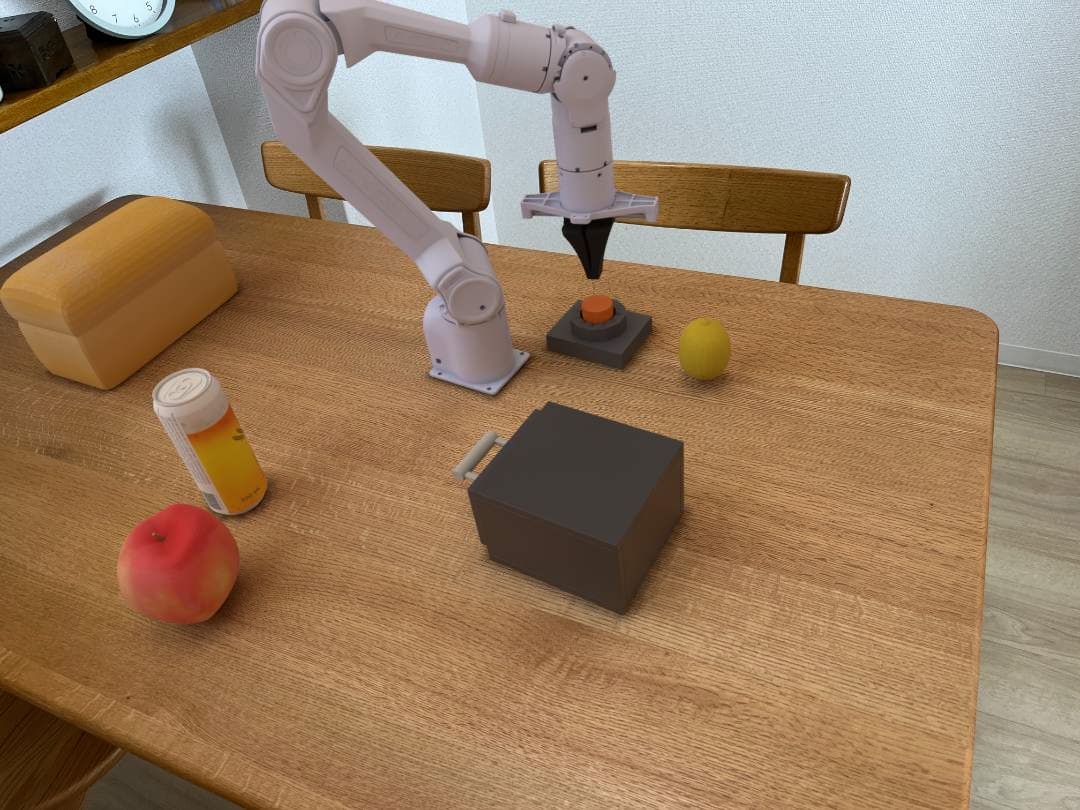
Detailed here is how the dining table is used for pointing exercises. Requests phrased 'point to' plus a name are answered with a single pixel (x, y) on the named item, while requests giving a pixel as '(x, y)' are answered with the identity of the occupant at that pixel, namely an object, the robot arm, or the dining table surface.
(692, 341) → the lemon
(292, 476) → the dining table surface
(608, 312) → the button
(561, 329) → the block
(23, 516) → the dining table surface
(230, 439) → the beer can
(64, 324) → the bread
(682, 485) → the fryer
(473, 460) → the drawer
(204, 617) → the apple
